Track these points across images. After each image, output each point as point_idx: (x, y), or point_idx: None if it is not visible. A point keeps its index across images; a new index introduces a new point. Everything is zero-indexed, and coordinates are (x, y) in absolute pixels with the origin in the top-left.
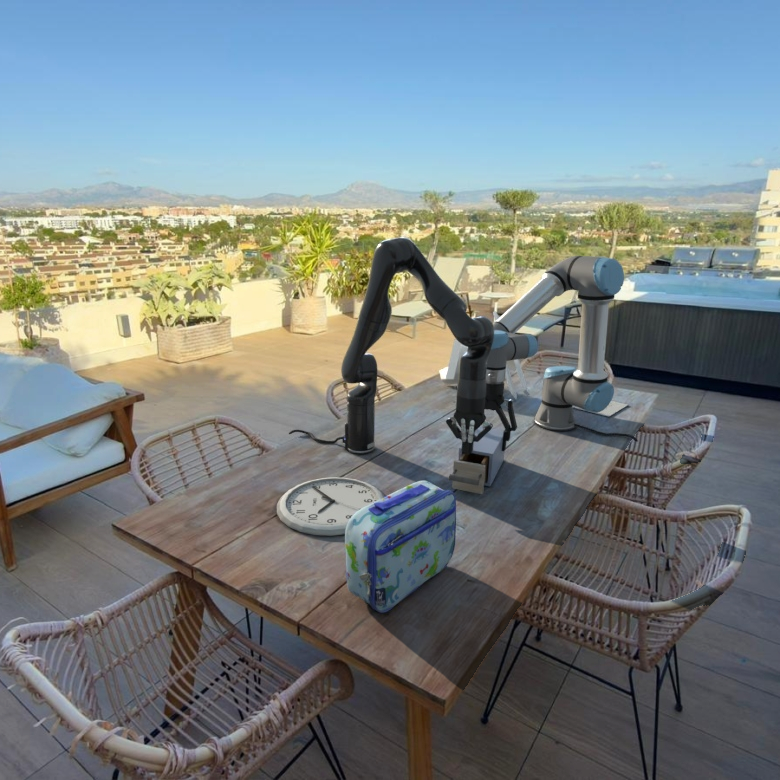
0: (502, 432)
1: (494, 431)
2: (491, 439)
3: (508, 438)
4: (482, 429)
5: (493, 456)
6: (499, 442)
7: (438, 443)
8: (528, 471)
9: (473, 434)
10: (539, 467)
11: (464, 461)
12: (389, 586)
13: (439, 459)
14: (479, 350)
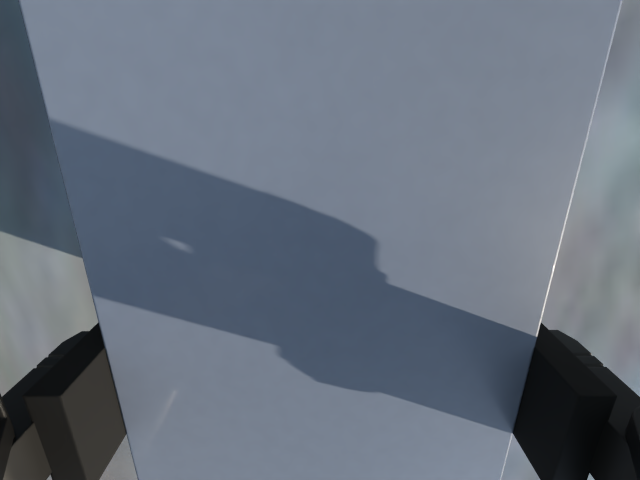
0: (158, 446)
1: (255, 440)
2: (201, 161)
3: (62, 351)
4: (405, 442)
5: None
6: (41, 90)
7: (630, 372)
8: (52, 225)
9: None
10: (22, 301)
11: None
12: None
13: (618, 160)
14: None
